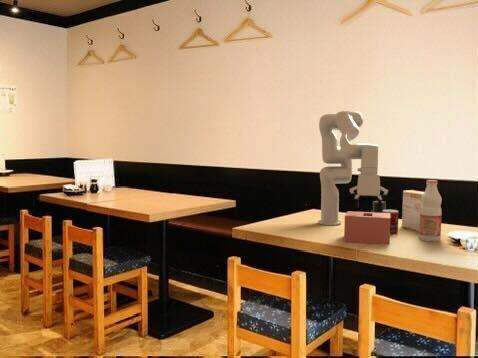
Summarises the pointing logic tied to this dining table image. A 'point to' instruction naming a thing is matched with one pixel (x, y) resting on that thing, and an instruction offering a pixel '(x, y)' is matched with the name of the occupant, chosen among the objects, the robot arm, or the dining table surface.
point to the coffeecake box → (411, 209)
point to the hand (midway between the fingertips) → (368, 207)
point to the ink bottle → (375, 206)
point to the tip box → (367, 227)
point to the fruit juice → (430, 213)
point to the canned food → (393, 220)
